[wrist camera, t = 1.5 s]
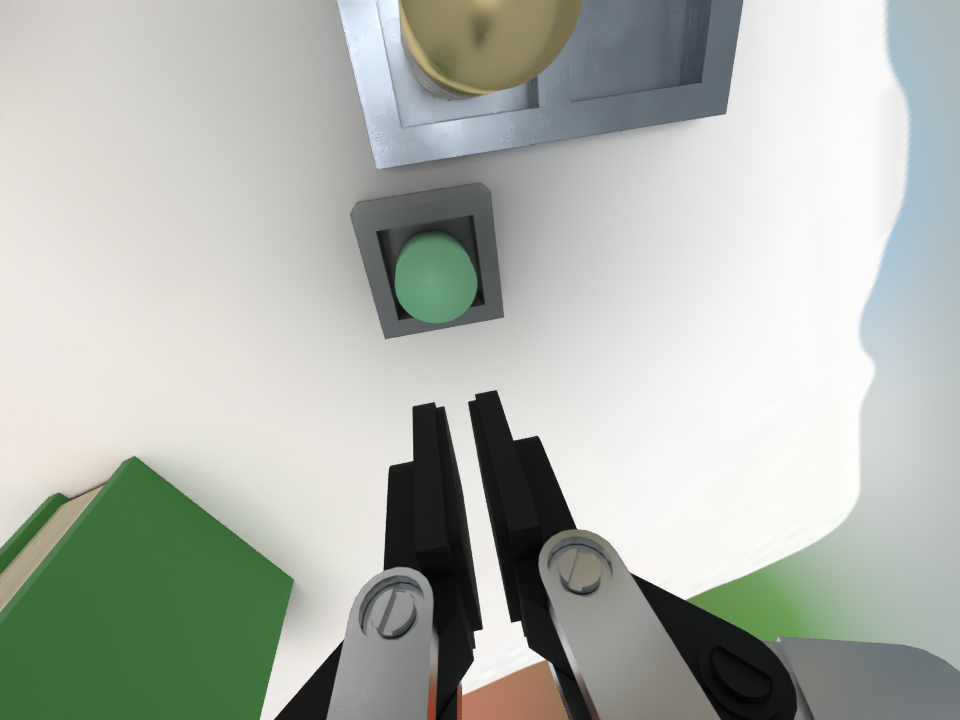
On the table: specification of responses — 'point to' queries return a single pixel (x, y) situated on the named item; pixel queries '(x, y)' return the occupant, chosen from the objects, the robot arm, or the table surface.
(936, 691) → the robot arm
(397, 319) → the grey button housing
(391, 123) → the metal compartment tray
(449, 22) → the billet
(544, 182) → the table surface
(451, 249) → the button
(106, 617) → the hardback book
